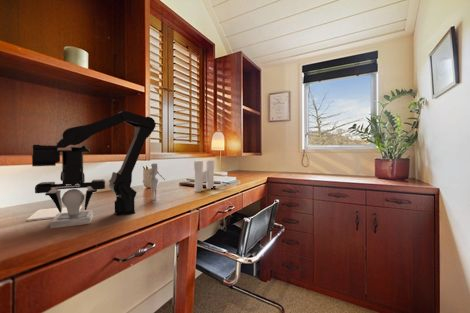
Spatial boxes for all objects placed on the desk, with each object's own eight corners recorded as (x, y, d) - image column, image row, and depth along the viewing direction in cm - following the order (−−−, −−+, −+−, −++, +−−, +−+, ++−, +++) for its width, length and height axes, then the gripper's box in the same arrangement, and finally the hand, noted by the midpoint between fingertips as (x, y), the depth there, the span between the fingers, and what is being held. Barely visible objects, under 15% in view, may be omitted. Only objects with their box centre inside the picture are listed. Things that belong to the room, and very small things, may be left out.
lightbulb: (81, 217, 80) (80, 187, 80) (87, 220, 76) (86, 189, 76) (60, 221, 75) (59, 189, 75) (65, 225, 71) (64, 191, 71)
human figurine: (162, 197, 114) (162, 162, 113) (167, 198, 111) (167, 163, 111) (140, 201, 104) (140, 163, 104) (144, 203, 102) (144, 164, 101)
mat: (82, 207, 94) (82, 205, 94) (76, 215, 82) (76, 214, 82) (39, 211, 88) (39, 209, 88) (26, 221, 75) (26, 219, 75)
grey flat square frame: (93, 215, 83) (93, 209, 83) (90, 223, 74) (90, 217, 74) (58, 219, 78) (58, 213, 78) (50, 228, 69) (50, 222, 69)
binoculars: (209, 187, 147) (209, 160, 146) (215, 188, 144) (216, 160, 143) (192, 191, 132) (192, 161, 131) (199, 192, 129) (199, 161, 128)
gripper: (105, 163, 87) (106, 203, 87) (44, 164, 78) (45, 208, 78) (104, 165, 77) (104, 209, 77) (33, 166, 68) (34, 217, 69)
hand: (73, 210), depth 76 cm, fingers open, 7 cm apart
